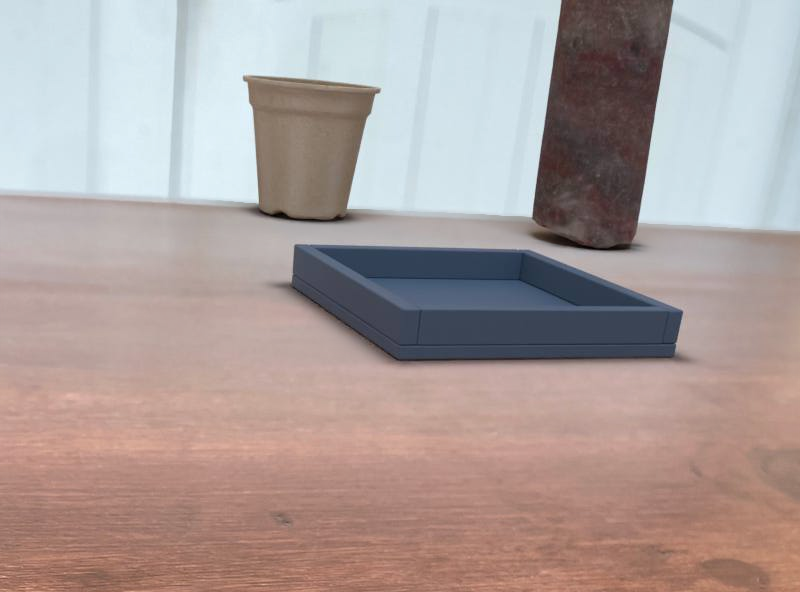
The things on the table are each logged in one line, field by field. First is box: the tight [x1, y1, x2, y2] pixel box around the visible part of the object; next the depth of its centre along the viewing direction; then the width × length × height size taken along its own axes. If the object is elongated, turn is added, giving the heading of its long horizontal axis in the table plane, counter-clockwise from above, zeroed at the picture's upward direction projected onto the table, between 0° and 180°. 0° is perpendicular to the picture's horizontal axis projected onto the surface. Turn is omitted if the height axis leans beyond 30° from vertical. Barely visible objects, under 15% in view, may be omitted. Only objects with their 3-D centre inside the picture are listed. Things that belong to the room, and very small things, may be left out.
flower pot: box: [242, 74, 382, 221], centre depth 83 cm, size 9×9×9 cm
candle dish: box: [291, 243, 684, 361], centre depth 57 cm, size 14×15×2 cm
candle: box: [531, 0, 675, 249], centre depth 79 cm, size 8×7×20 cm
